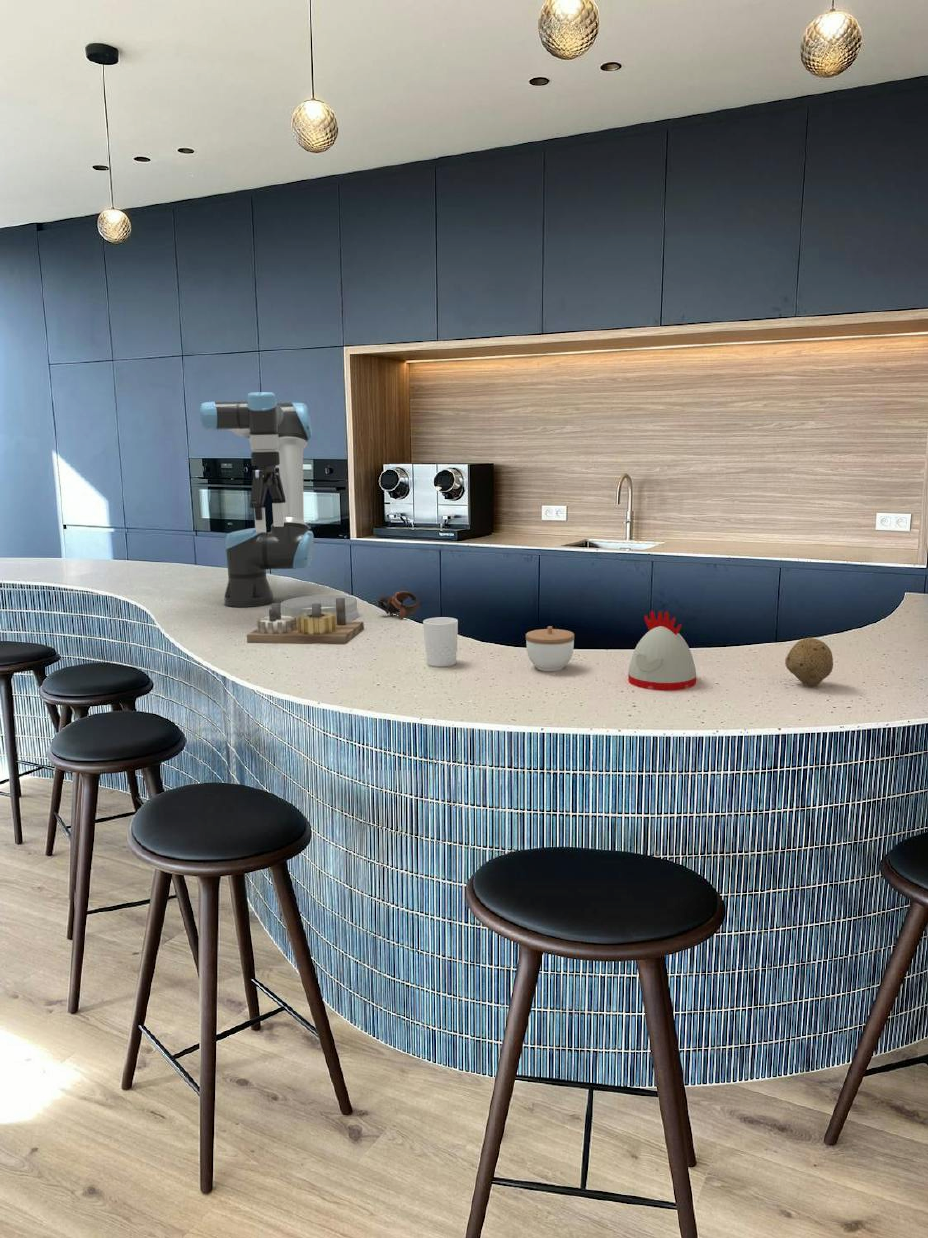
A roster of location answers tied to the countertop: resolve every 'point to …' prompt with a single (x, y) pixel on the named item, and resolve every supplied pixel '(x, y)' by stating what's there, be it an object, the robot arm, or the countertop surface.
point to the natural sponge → (810, 661)
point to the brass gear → (317, 623)
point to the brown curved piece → (399, 604)
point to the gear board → (287, 627)
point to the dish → (327, 605)
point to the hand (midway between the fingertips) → (270, 529)
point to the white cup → (440, 641)
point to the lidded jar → (550, 648)
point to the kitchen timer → (662, 657)
